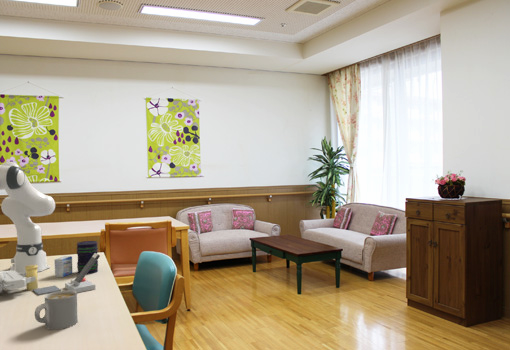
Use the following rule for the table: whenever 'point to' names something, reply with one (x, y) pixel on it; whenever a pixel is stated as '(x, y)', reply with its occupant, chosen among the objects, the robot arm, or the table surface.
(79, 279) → the toggle
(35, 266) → the yellow lidded cup
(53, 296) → the coffee mug
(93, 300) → the table surface
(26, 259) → the robot arm
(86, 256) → the storage jar
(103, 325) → the table surface
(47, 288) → the pad
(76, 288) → the panel
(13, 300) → the table surface
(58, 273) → the medicine box
